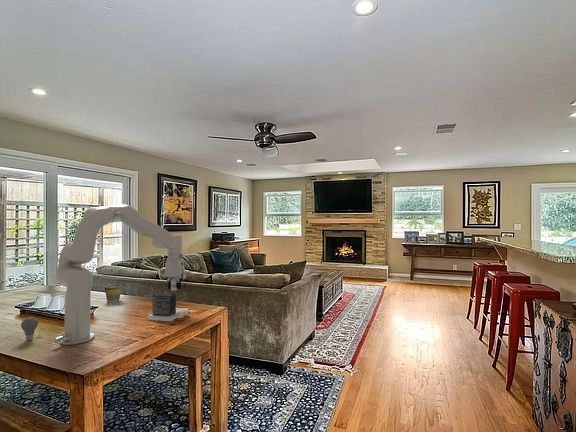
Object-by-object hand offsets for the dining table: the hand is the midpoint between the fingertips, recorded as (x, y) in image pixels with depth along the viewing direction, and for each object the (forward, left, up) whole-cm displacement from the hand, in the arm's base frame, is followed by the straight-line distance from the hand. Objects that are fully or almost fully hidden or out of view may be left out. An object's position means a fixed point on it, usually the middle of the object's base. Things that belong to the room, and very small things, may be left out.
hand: (174, 288), depth 184 cm
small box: (-9, 0, -12) cm, 15 cm away
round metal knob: (0, 0, -1) cm, 1 cm away
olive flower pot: (+15, +53, -14) cm, 57 cm away
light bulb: (-52, +38, -14) cm, 65 cm away
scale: (-6, -1, -14) cm, 15 cm away
